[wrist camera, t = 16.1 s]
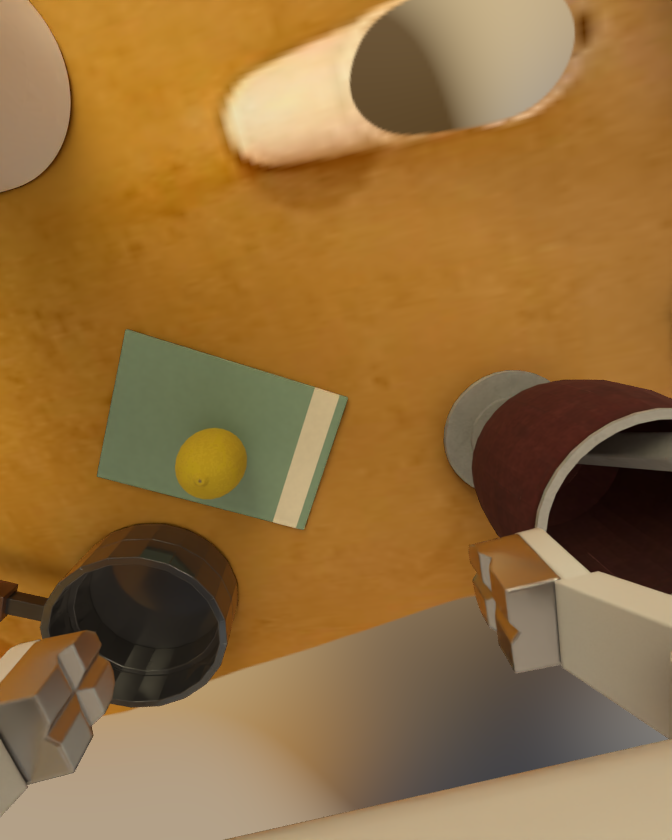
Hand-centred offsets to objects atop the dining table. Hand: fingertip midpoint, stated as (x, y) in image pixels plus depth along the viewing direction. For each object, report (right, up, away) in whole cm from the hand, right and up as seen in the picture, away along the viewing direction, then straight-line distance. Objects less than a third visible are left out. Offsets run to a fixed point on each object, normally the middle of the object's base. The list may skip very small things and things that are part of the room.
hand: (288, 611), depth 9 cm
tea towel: (-10, +3, +29) cm, 31 cm away
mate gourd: (+18, +4, +30) cm, 36 cm away
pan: (-17, -14, +33) cm, 39 cm away
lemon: (-9, +2, +29) cm, 30 cm away
